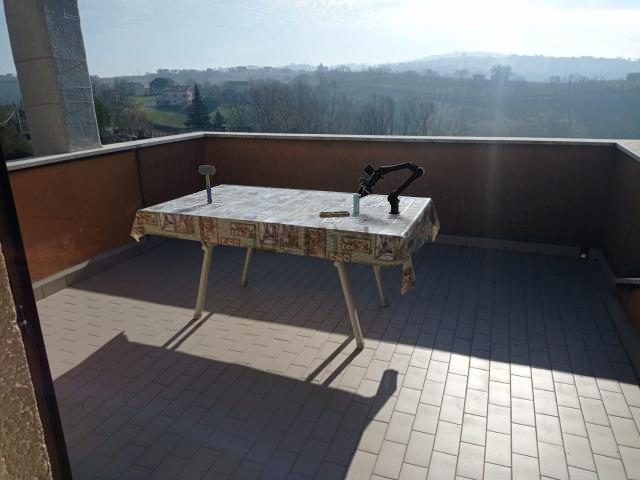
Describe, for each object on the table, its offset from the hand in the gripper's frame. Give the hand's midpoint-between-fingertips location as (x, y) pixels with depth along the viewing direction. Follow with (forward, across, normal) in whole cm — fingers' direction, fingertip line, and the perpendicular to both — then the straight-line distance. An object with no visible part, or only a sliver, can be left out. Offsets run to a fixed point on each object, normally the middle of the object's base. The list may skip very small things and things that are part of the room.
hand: (357, 196), depth 322 cm
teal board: (+9, 0, +7) cm, 11 cm away
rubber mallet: (+85, -49, -70) cm, 120 cm away
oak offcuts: (+22, +6, -6) cm, 23 cm away
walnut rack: (+20, +6, -5) cm, 21 cm away
